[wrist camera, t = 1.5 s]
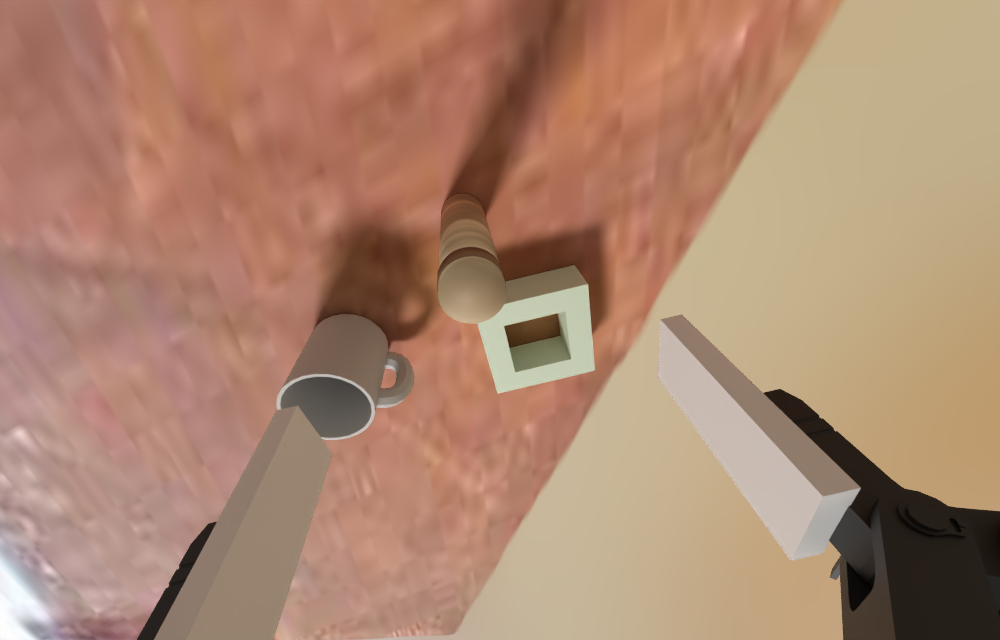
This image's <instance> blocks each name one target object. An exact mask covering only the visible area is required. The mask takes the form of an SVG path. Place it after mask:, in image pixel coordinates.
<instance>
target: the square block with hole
mask: <svg viewBox="0 0 1000 640" xmlns="http://www.w3.org/2000/svg"><path fill="white" fill-rule="evenodd" d="M505 282H506V288H507V297H506V301H505V303H504V306H503V307H502V309H501V310H500V311H499V312H498V313H497V314H496V315H495V316H494V317H492V318H491V319H489V320H486V321H484V322H480V323H478V327H479V330H480V334H481V337H482V341H483V344H484V348H485V351H486V355H487V358H488V362H489V365H490V369H491V372H492V376H493V379H494V383H495V386H496V390H497V393H502V392H507V391H511V390H515V389H519V388H523V387H528V386H532V385H536V384H540V383H544V382H549V381H553V380H557V379H561V378H565V377H570V376H574V375H578V374H582V373H587V372H591V371H595V367H594V354H593V341H592V329H591V316H590V303H589V290H588V283H587V282H586V280H585V279H584V278H583V276H582V275H581V273H580V272H579V271H578V269H577V268H576V266H575V265H572V266H568V267H564V268H559V269H555V270H551V271H547V272H543V273H539V274H534V275H530V276H526V277H522V278H518V279H514V280H509V281H505ZM557 313H558V320H559V327H560V335H561V336H557V337H553V338H548V339H544V340H540V341H536V342H532V343H527V344H523V345H519V346H515V347H511V348H509V345H508V340H507V336H506V332H505V328H504V326H506V325H511V324H515V323H519V322H523V321H527V320H532V319H536V318H540V317H544V316H548V315H552V314H557Z"/></svg>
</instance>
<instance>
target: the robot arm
mask: <svg viewBox="0 0 1000 640" xmlns="http://www.w3.org/2000/svg"><path fill="white" fill-rule="evenodd" d="M658 378H659V380H660V381H661V382H662V383H663V385H664V387H665V388H666V389H667V391H668V392H669V393H670V394H671V396H672V398H673V399H674V400H675V402H676V403H677V404H678V406H679V407H680V409H681V410H682V411H683V412H684V414H685V415H686V417H687V418H688V420H689V421H690V422H691V424H692V425H693V426H694V428H695V429H696V431H697V432H698V433H699V435H700V436H701V438H702V439H703V440H704V442H705V443H706V444H707V446H708V447H709V449H710V450H711V451H712V453H713V454H714V455H715V456H716V458H717V460H718V461H719V462H720V464H721V465H722V466H723V468H724V469H725V470H726V472H727V473H728V475H729V476H730V477H731V479H732V480H733V482H734V483H735V484H736V486H737V487H738V488H739V490H740V491H741V493H742V494H743V495H744V497H745V498H746V499H747V501H748V502H749V504H750V505H751V506H752V508H753V509H754V511H755V512H756V513H757V515H758V516H759V517H760V519H761V520H762V522H763V523H764V524H765V526H766V527H767V528H768V530H769V531H770V533H771V534H772V535H773V537H774V538H775V540H776V541H777V542H778V544H779V545H780V546H781V548H782V549H783V551H784V552H785V553H786V555H787V556H788V557H789V559H790V560H791V561H792V560H796V559H801V558H805V557H810V556H814V555H818V554H822V553H823V552H824V550H825V548H826V546H827V545H828V543H829V542H831V543H832V544H833V545H834V546H835V548H836V549H837V550H838V551H839V552H840V554H841V556H840V558H839V559H838V561H837V562H836V564H835V565H834V567H833V568H832V571H831V575H830V578H833V579H835V580H836V579H837V578H838V577H839V575H840V582H841V599H842V621H843V640H1000V511H988V510H977V509H966V508H956V507H950V506H947V505H946V504H944V503H942V502H941V501H939V500H937V499H936V498H933V497H930V496H928V495H926V494H923V493H921V492H918V491H913V490H908V489H904V488H902V487H901V486H900V485H898V484H897V483H896V482H894V481H893V480H892V479H891V478H890V477H888V476H887V475H886V474H885V473H884V472H883V471H882V470H880V469H879V468H878V467H877V466H876V465H875V464H874V463H873V462H871V461H870V460H869V459H868V458H867V457H866V456H864V455H863V454H862V453H861V452H860V451H859V450H858V449H857V448H856V447H854V446H853V445H852V444H851V443H850V442H849V441H847V440H846V439H845V438H844V437H843V436H842V435H841V434H840V433H838V432H837V431H836V432H835V431H834V429H833V427H832V426H831V425H829V424H828V423H827V422H826V421H825V420H824V419H821V418H819V415H818V414H817V413H816V412H815V411H813V410H812V409H811V408H810V407H809V406H808V405H807V404H805V403H804V402H803V401H802V400H800V399H798V398H797V397H795V396H793V395H791V394H789V393H787V392H785V391H783V390H781V389H778V390H774V391H769V392H765V393H762V392H761V391H760V390H759V389H758V388H757V387H756V386H755V385H754V384H753V383H752V382H751V381H750V380H749V379H748V378H747V377H746V376H745V375H744V374H743V373H742V372H741V371H740V370H739V369H737V367H735V365H733V364H732V363H731V362H730V361H729V360H728V359H727V358H726V357H725V356H724V355H723V354H722V353H721V352H720V351H719V350H718V349H717V348H716V347H715V346H714V345H713V344H712V343H711V342H710V341H709V340H708V339H707V338H705V337H704V336H703V335H702V334H701V333H700V332H699V331H698V330H697V329H696V328H695V327H694V326H693V325H692V324H691V323H690V322H689V321H688V320H687V319H686V318H685V317H684V316H683V315H678V316H674V317H669V318H665V319H661V320H660V340H659V361H658ZM331 457H332V452H331V451H330V450H329V448H328V447H327V445H326V444H325V443H324V441H323V440H322V438H321V437H320V436H319V434H318V433H317V432H316V430H315V429H314V427H313V426H312V425H311V423H310V422H309V420H308V419H307V418H306V416H305V415H304V414H303V412H302V411H301V409H300V408H299V407H298V405H297V406H293V407H289V408H285V409H280V410H277V411H276V413H275V414H274V416H273V418H272V420H271V422H270V424H269V426H268V428H267V429H266V431H265V433H264V435H263V437H262V439H261V441H260V443H259V444H258V446H257V448H256V450H255V452H254V454H253V456H252V457H251V459H250V461H249V463H248V465H247V467H246V469H245V471H244V472H243V474H242V476H241V478H240V480H239V482H238V484H237V485H236V487H235V489H234V491H233V493H232V495H231V497H230V499H229V500H228V502H227V504H226V506H225V508H224V510H223V512H222V514H221V515H220V517H219V519H218V521H217V522H213V523H209V524H208V525H207V526H206V527H205V528H204V530H203V531H202V532H201V533H200V534H199V535H198V536H197V538H196V539H195V540H194V541H193V542H192V543H191V545H190V547H189V549H188V550H187V552H186V554H185V556H184V557H183V559H182V561H181V563H180V564H179V569H178V570H176V571H175V573H174V575H173V577H172V579H171V580H170V582H169V587H168V588H166V589H165V591H164V593H163V594H162V596H161V598H160V600H159V602H158V603H157V605H156V607H155V609H154V610H153V612H152V614H151V616H150V617H149V619H148V621H147V623H146V624H145V626H144V628H143V630H142V632H141V633H140V635H139V637H138V639H137V640H273V639H274V636H275V633H276V629H277V626H278V623H279V620H280V617H281V614H282V611H283V607H284V604H285V601H286V598H287V595H288V592H289V589H290V586H291V582H292V579H293V576H294V573H295V570H296V567H297V564H298V560H299V557H300V554H301V551H302V548H303V545H304V542H305V538H306V535H307V532H308V529H309V526H310V523H311V520H312V516H313V513H314V510H315V507H316V504H317V501H318V498H319V494H320V491H321V488H322V485H323V482H324V479H325V476H326V473H327V469H328V466H329V463H330V460H331Z"/></svg>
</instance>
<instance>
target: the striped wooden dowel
mask: <svg viewBox="0 0 1000 640" xmlns="http://www.w3.org/2000/svg"><path fill="white" fill-rule="evenodd" d="M437 291H438V300H439V303H440V306H441V307H442V309H443V310H444V312H445V313H446V314H447V315H448V316H450V317H451V318H453V319H454V320H457V321H459V322H463V323H471V324H473V323H480V322H484V321H486V320H489V319H491V318H492V317H494V316H495V315H496V314H497V313H498V312H499V311H500V310H501V309H502V307H503V306H504V303H505V301H506V297H507V288H506V282H505V277H504V274H503V271H502V267H501V265H500V263H499V260H498V257H497V254H496V250H495V247H494V243H493V240H492V237H491V233H490V230H489V227H488V223H487V220H486V217H485V213H484V210H483V207H482V205H481V203H480V202H479V201H478V200H477V199H476V198H475V197H474V196H472V195H469V194H464V193H460V194H456V195H453V196H451V197H450V198H448V199H447V200H446V202H445V203H444V205H443V207H442V211H441V231H440V254H439V270H438V279H437Z"/></svg>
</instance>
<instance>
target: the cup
mask: <svg viewBox="0 0 1000 640" xmlns="http://www.w3.org/2000/svg"><path fill="white" fill-rule="evenodd" d="M385 368H389V369H392V370H394V371H395V372H396V375H397V377H396V382H395V384H394V386H392V387H391V388H381V384H382V379H383V374H384V370H385ZM413 385H414V372H413V369H412V366H411V364H410V362H409V361H408V359H407V358H405V357H404V356H403V355H401V354H398V353H395V352H390V351H388V341H387V338H386V335H385V334H384V332H383V331H382V330H381V328H380V327H379V326H377V325H376V324H375V323H374V322H372V321H371V320H369V319H367V318H365V317H362V316H358V315H354V314H339V315H334V316H331V317H328V318H326V319H324V320H323V321H321V322H320V323H319V324H318V325H317V326H316V327H315V329H314V331H313V332H312V334H311V336H310V337H309V339H308V341H307V343H306V345H305V347H304V348H303V350H302V352H301V354H300V356H299V358H298V359H297V361H296V363H295V365H294V367H293V369H292V370H291V372H290V374H289V376H288V378H287V380H286V382H285V383H284V385H283V387H282V389H281V391H280V393H279V394H278V397H277V404H276V405H277V409H278V410H280V409H285V408H289V407H293V406H297V405H298V407H299V408H300V409H301V411H302V412H303V414H304V415H305V416H306V418H307V419H308V420H309V422H310V423H311V425H312V426H313V427H314V429H315V430H316V432H317V433H318V434H319V436H320V437H321V438H322V439H324V440H339V439H345V438H350V437H352V436H355V435H357V434H360V433H361V432H362V431H364V430H365V429H367V428H368V426H369V425H370V424H371V422H372V421H373V418H374V415H375V411H376V408H387V407H393V406H395V405H397V404H399V403H401V402H402V401H403V400H404V399H405V398H406V397H407V395H408V394H409V393H410V392H411V389H412V387H413Z"/></svg>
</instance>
